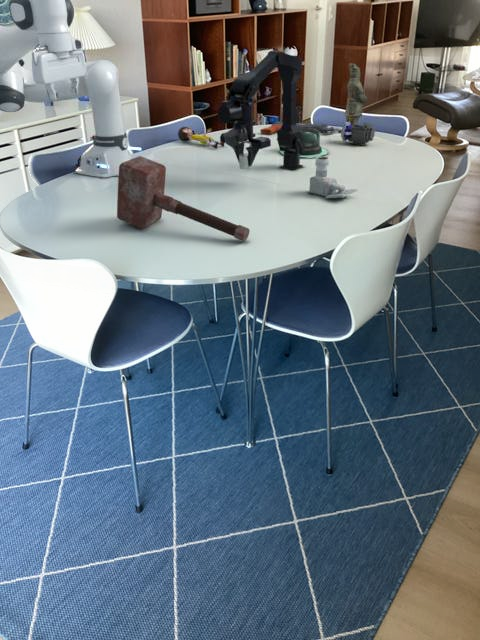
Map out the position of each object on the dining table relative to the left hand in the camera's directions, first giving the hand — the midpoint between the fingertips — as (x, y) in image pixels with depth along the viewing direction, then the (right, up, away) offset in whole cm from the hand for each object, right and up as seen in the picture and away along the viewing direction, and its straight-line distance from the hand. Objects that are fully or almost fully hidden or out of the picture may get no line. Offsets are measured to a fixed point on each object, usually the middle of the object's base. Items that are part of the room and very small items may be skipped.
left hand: (64, 96), depth 163 cm
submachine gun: (+78, +23, +103) cm, 131 cm away
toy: (+103, +13, +84) cm, 133 cm away
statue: (+107, +26, +107) cm, 153 cm away
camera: (+82, -24, +22) cm, 88 cm away
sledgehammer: (+36, -40, -3) cm, 54 cm away
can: (+53, -12, +33) cm, 64 cm away
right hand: (+53, -11, +32) cm, 63 cm away
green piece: (+79, +6, +73) cm, 107 cm away
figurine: (+34, +14, +89) cm, 96 cm away
